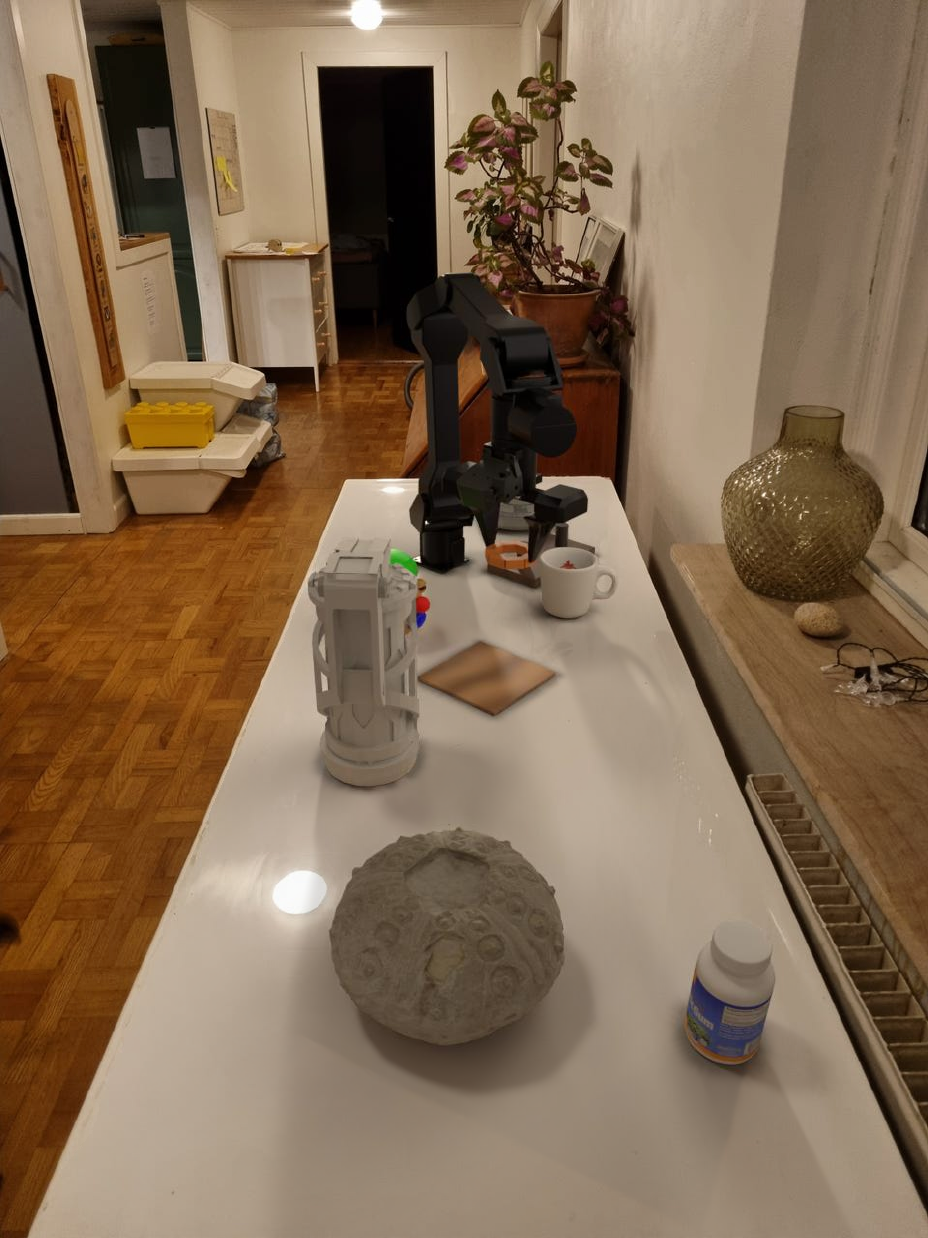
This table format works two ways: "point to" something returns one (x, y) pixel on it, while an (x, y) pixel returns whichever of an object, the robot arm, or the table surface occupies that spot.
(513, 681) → the cork mat
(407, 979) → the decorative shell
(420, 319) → the robot arm
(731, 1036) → the pill bottle
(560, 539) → the peg board
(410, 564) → the figurine
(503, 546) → the ring
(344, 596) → the lantern
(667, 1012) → the table surface
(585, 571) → the cup
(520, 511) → the flying saucer
